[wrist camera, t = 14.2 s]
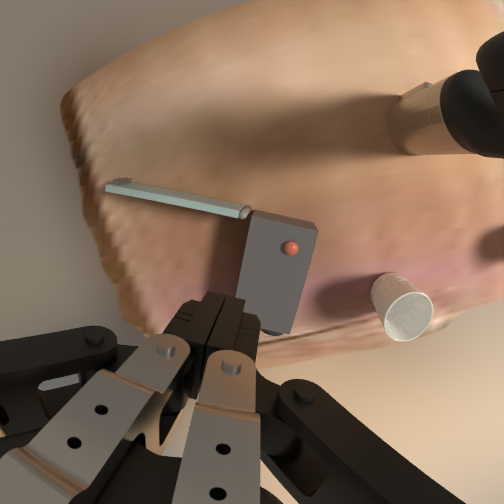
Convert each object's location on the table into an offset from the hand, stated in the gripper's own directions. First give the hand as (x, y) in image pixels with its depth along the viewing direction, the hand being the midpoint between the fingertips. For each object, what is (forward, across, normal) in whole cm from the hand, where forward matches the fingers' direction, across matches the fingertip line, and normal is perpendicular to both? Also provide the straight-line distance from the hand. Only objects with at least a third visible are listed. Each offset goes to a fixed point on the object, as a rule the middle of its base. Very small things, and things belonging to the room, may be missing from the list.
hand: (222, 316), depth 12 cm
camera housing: (+35, -3, +9) cm, 36 cm away
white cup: (+35, -23, +9) cm, 43 cm away
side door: (+35, +3, +2) cm, 35 cm away
